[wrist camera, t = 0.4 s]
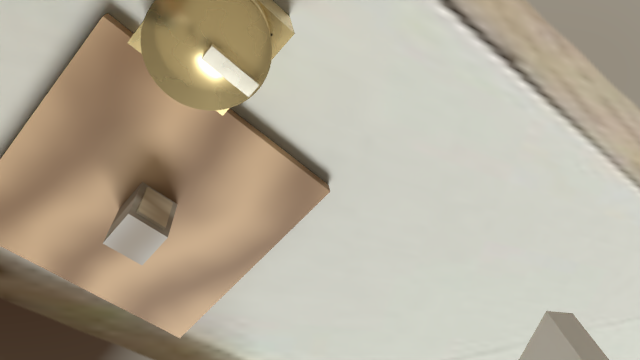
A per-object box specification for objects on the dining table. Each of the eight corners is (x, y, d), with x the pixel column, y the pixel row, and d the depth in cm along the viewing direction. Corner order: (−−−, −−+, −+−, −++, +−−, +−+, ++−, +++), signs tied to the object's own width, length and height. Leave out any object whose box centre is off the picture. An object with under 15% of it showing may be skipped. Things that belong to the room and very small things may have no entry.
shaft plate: (-37, 214, 33) (-82, 259, 29) (107, 13, 28) (79, 30, 24) (181, 329, 41) (172, 378, 36) (328, 184, 35) (338, 222, 31)
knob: (147, 23, 29) (111, 58, 22) (209, -59, 27) (191, -50, 20) (227, 87, 31) (218, 137, 24) (289, 16, 29) (298, 47, 22)
